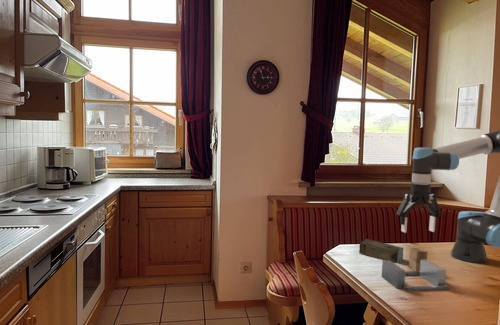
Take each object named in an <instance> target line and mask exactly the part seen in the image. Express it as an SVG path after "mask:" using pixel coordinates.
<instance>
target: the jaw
mask: <svg viewBox="0 0 500 325" xmlns="http://www.w3.org/2000/svg"><path fill="white" fill-rule="evenodd" d="M446 273H447V269H445V268H444V267H442V266H440V265H438V264H436V263H434V262H432V261H430V260H429V259H428V258H427V259H426V260H421V261H420V275H418V276H419V277H421V278H422V279H424V280H425V281H427V282H429V283H430V284H432V286H441V285H446V276H447V274H446Z"/></svg>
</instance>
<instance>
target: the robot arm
mask: <svg viewBox="0 0 500 325" xmlns="http://www.w3.org/2000/svg"><path fill="white" fill-rule="evenodd" d="M480 154H483V155H490V154H500V129H499V130H494V131H491V132H488V133H484V134H480V135H479V136H478V137H476V138H473V139H472V138H471V139H467V140H464V141H460V142H456V143H452V144H447V145H444V146H443V145H442V146H439V147H436V148H431V147H415V148H414V150H413V155H412V169H411V170H412V171H411V172H412V173H411V187H410V192H411V193H410V194H408V193H404V195H403V200H402V201H401V203H400V204H399V207H398V209H397V211H396V213H395V214H396V216H399V217H400V218H399V219H400V220H399V223H400V225H401V226H400V227H401V228H400V231H401V232H402V233H405V234H407V230H408V229H407V226H408V217H407V216H408V215H409V213H410V212H411V211H412V210H413V208H414V207H416V206H424V207H425V208H426V209H427V210H428V212H429V213H430V215H429V223H428V224H429V226H428V231H430V232H432V233H435V230H436V225H437V221H438V220H437V219H438V218H439V217H440V216H442V211H441V209H440V206H439V204H438V201H437V195H436V194H434V193H430V192H431V183H432V182H431V181H432V171H434V170H435V171H437V170H439V171H454V170H456V169H457V168H458V167H459V166H460V159H464V158H469V157H473V156H477V155H480ZM485 244H487V245H489V246H491V247H495V248H499V249H500V176H499V177H498V181H497V184H496V187H495V190H494V194H493V197H492V198H491V203H490V207H489V209H488V210H486V211H476V210H475V211H472V210H462V211H460V212H459V213H458V216H457V225H456V238H455V242H454V245H453V247H452V249H451V250H450V251H451V252H450V255H451V257H453V258H454V259H457V260H460V261H464V262H467V263H477V264H479V263H481V264H482V263H486V262H487V261H488V256H487V252H486V248H485Z"/></svg>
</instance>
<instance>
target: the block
mask: <svg viewBox="0 0 500 325" xmlns="http://www.w3.org/2000/svg"><path fill="white" fill-rule="evenodd" d="M409 249H410V250H409V263H408V269H409V270H412V271H420V261H421V260H426V259H427V260H428V250H425V249H424V248H422V247H410V248H409Z"/></svg>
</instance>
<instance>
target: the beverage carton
mask: <svg viewBox="0 0 500 325" xmlns="http://www.w3.org/2000/svg"><path fill="white" fill-rule="evenodd" d="M358 249H359V251H358V253H359V254H360V255H363V256H364V255H365V256H368V257H372V258H375V259H380V260H382V261H383V260H390V261H392V262H393V263H395V264H398V263H400V262H401V261H402V260H403V259H404V247H403V246H400V245H399V246H398V245H393V244H390V243H386V242H385V243H384V242H380V241H377V240H373V239H372V240H371V239H368V238H365V239H364V240H362V241H360V242H359V248H358Z"/></svg>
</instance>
